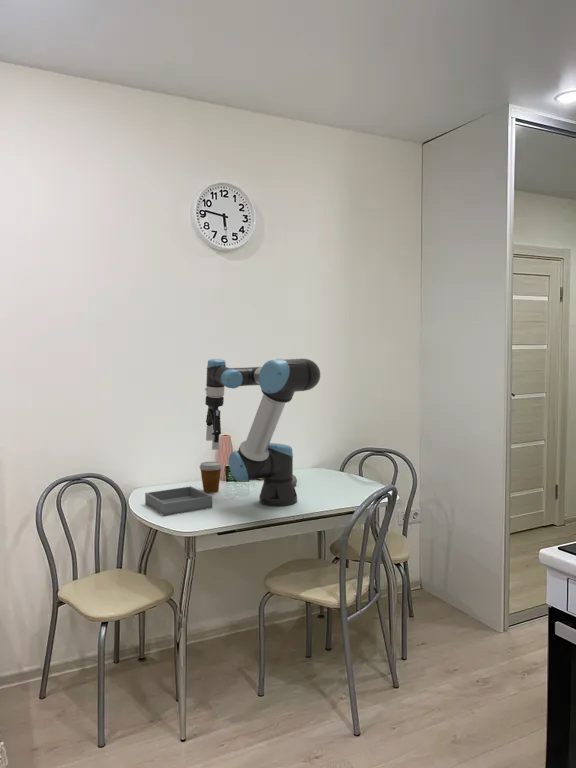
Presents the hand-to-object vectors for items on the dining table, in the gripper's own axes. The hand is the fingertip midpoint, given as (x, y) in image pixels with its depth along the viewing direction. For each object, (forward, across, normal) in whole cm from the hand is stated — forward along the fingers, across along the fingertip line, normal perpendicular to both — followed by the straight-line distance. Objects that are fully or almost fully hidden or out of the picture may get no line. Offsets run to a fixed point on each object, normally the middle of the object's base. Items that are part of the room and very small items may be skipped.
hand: (212, 444), depth 261 cm
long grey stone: (+21, -11, +33) cm, 41 cm away
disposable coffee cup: (+20, +2, 0) cm, 20 cm away
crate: (+18, +21, -16) cm, 32 cm away
